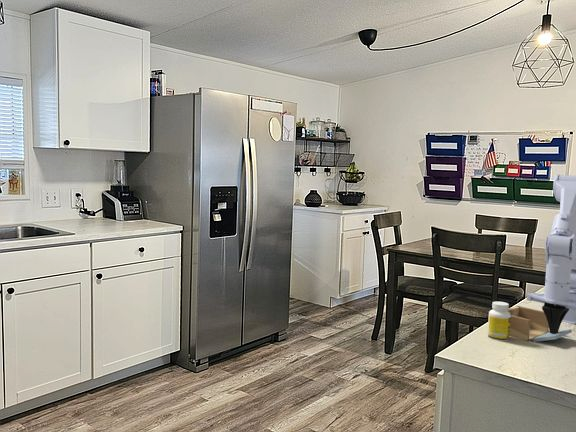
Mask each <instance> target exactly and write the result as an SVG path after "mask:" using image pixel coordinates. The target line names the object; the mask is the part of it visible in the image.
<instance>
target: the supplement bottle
mask: <svg viewBox="0 0 576 432" xmlns="http://www.w3.org/2000/svg"><path fill="white" fill-rule="evenodd" d="M491 306H492V307H491V308H492V309H491V310H489V311H488V321H487V333H486V334H487V335H486V336H487V338H489V339H490V340H493V341H501V342H507V341H509V340H510V336H509V335H510V321H511V314H510V313H509V312H508V311H507V310H508V309H509V308H510V307H509V303H508V302H504V301H492V304H491Z"/></svg>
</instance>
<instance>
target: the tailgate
mask: <svg viewBox="0 0 576 432" xmlns="http://www.w3.org/2000/svg"><path fill="white" fill-rule="evenodd" d="M572 333H573V330H572V329H571V328H569V329H563V330H558V333H556V334H551V333H550V332H549V331H548V333H546V334H543V335H541V336H538V337H536V338H533V342H544V341H554V340H557V339H560V338H562V337H565V336H566V335H569V334H572Z"/></svg>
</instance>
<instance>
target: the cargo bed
mask: <svg viewBox="0 0 576 432" xmlns="http://www.w3.org/2000/svg"><path fill="white" fill-rule="evenodd" d="M507 311H508V312H509V313H510V314H511V321H510V335H509V337H511V338H515V339H519V340H521V341H526V342H530V343H532V342H534V341H533V338H536V337H538V336H541V335H543V334H546V333H548V332H550V331H549V325H548V321H547V318H546V316H545V314H544V312H543V310H538V309H533V308H529V307H524V306H521V305H516V306H513V307H509V309H508V310H507Z"/></svg>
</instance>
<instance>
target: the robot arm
mask: <svg viewBox="0 0 576 432" xmlns="http://www.w3.org/2000/svg"><path fill="white" fill-rule="evenodd" d="M552 186H553V187H552V192H553V196H554V198H555V200H556V201H557V202H559V203H560V204H559V213H557V214H556V215H555V216H554V217H553V220H552V225H551V229H550V233H549V236H546V239H545V245H544V252H545V264H546V265H545V266H546V267H545V280H544V282H545V283H544V292H543V293H536V292H531V291H530V292H527V293H526V300H527V301H529V302H531V301H532V302H537V303H541V304H543V305H542V307H541V309H542V310H541V311H543V312H544V314H545V316H546V318H547V321H548V325H549V331H550V333H551V334H556V333H558V331H560V326H561V324H562V322H563V323H566V324H572V325H575V324H576V175H572V174H571V175H568V174H567V175H565V174H564V175H563V174H556V175H555V176H554V179H553V185H552ZM549 331H548V332H549Z"/></svg>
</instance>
